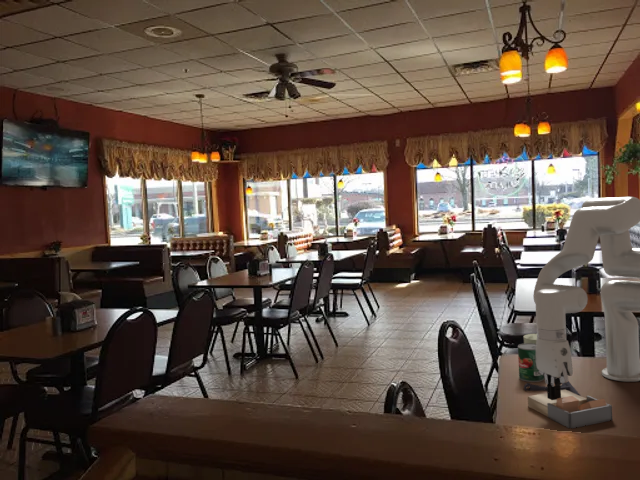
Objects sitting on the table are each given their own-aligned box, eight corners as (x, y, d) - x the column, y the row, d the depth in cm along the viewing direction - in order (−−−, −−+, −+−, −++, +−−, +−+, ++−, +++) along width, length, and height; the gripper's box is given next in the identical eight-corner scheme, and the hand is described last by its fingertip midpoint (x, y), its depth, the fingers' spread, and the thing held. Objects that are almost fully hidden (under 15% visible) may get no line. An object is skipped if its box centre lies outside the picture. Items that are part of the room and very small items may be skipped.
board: (565, 399, 163) (565, 389, 163) (588, 409, 154) (587, 399, 154) (528, 406, 159) (527, 396, 159) (548, 417, 151) (548, 406, 151)
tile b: (572, 395, 150) (578, 400, 147) (570, 412, 151) (577, 416, 149) (556, 398, 148) (563, 403, 146) (555, 415, 149) (561, 420, 147)
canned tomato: (514, 379, 184) (513, 347, 183) (525, 373, 189) (524, 341, 188) (538, 383, 178) (536, 350, 177) (548, 377, 183) (546, 345, 183)
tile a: (604, 398, 147) (608, 407, 146) (592, 403, 152) (596, 412, 150) (588, 401, 146) (592, 411, 145) (577, 406, 150) (581, 415, 149)
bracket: (520, 384, 180) (519, 376, 180) (568, 384, 178) (568, 375, 177) (528, 400, 166) (528, 391, 166) (581, 400, 163) (580, 390, 163)
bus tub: (588, 409, 154) (588, 395, 154) (612, 420, 146) (611, 405, 146) (548, 417, 151) (547, 403, 150) (569, 428, 142) (569, 413, 142)
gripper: (582, 337, 146) (585, 405, 147) (545, 327, 160) (548, 388, 161) (558, 341, 144) (561, 409, 145) (523, 330, 158) (526, 392, 159)
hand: (554, 398), depth 153 cm, fingers closed
